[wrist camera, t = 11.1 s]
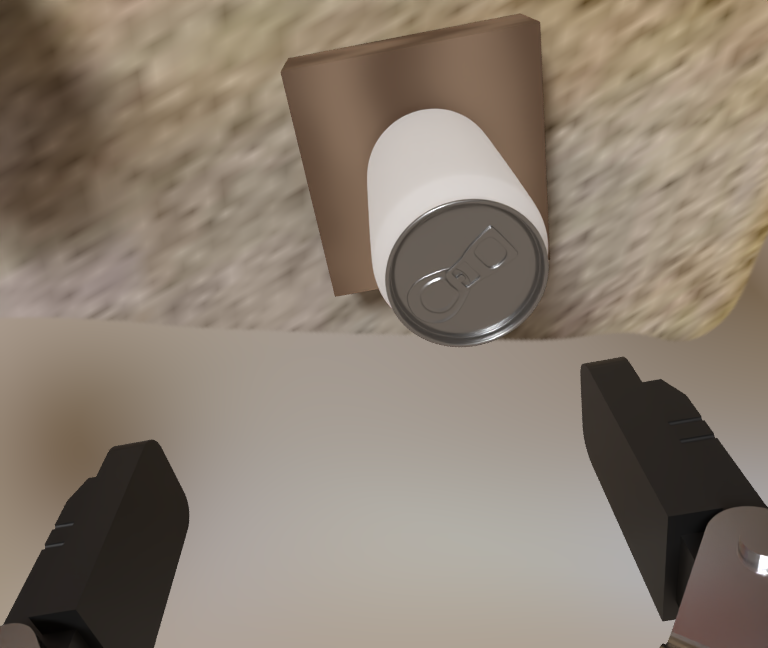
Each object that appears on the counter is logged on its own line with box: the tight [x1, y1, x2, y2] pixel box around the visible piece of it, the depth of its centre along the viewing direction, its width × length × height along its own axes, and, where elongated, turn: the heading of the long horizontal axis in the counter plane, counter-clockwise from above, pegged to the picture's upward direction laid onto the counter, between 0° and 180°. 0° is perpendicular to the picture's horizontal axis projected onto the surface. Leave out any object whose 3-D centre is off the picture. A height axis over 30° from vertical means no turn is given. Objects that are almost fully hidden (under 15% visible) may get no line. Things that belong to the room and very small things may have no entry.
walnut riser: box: [281, 14, 550, 297], centre depth 34 cm, size 12×12×4 cm
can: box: [367, 109, 549, 347], centre depth 27 cm, size 6×6×12 cm
